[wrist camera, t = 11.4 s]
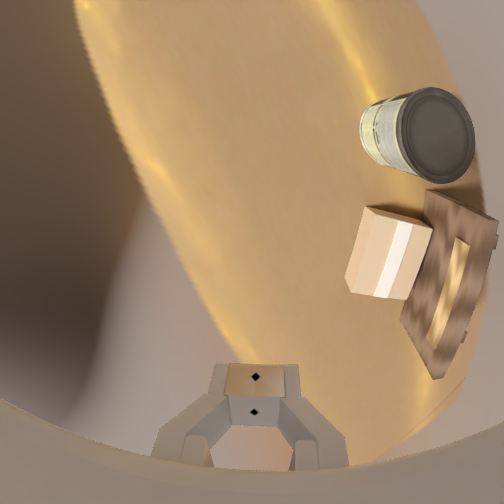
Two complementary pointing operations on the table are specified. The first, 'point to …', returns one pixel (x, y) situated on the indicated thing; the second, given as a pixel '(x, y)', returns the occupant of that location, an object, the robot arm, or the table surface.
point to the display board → (448, 279)
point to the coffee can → (420, 134)
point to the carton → (387, 254)
